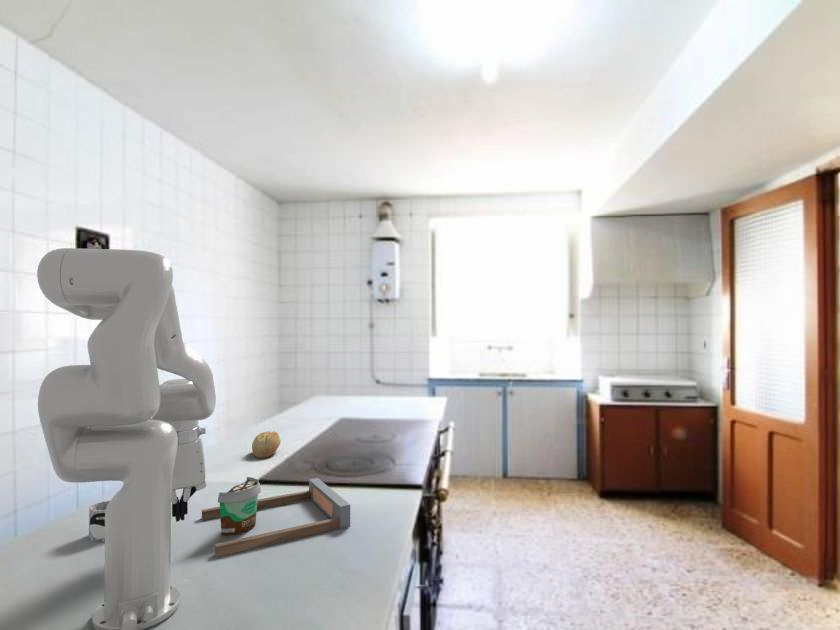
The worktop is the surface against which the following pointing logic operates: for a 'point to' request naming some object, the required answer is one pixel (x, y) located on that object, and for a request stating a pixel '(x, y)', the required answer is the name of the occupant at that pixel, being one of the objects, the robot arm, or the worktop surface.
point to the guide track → (275, 535)
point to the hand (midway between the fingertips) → (179, 518)
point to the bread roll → (265, 444)
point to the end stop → (329, 502)
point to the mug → (97, 521)
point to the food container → (239, 507)
